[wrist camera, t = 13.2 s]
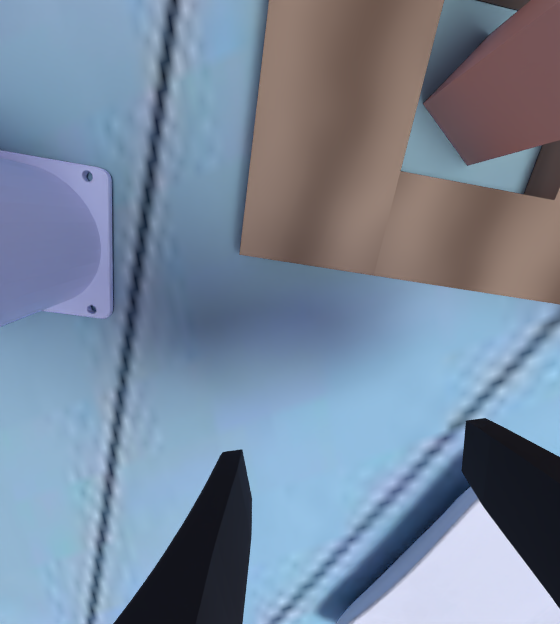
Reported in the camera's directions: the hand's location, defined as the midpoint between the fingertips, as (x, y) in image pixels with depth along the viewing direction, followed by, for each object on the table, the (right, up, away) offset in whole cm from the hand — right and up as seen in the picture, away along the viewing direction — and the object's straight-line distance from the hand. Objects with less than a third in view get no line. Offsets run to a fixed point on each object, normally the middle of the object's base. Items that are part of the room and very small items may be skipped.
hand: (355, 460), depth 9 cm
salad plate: (+15, -18, +17) cm, 29 cm away
